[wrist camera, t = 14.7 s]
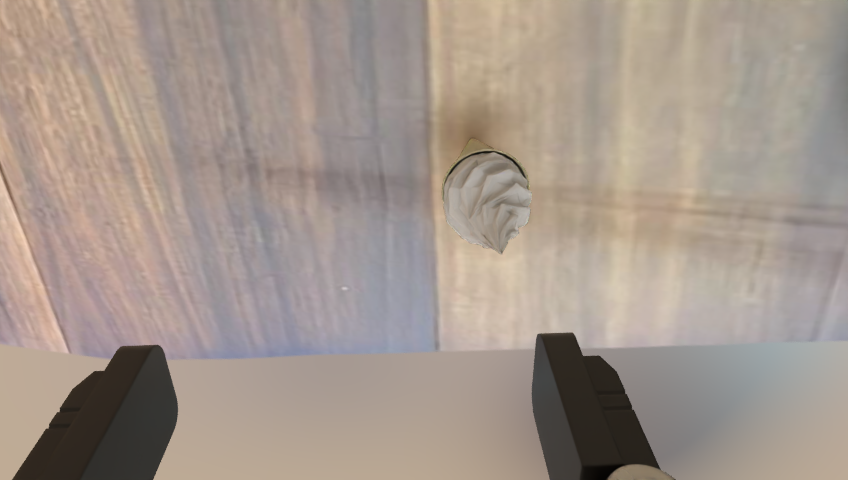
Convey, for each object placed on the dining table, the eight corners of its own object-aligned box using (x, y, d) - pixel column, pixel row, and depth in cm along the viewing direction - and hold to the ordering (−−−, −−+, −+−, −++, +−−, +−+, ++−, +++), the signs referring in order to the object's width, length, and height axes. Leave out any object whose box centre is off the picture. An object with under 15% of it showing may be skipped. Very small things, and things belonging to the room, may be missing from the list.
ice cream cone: (430, 171, 44) (441, 290, 31) (441, 101, 41) (458, 197, 28) (500, 180, 44) (541, 301, 31) (516, 111, 42) (566, 210, 29)
